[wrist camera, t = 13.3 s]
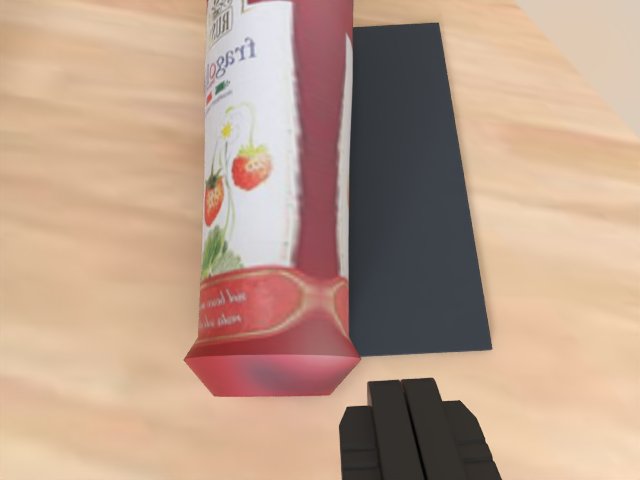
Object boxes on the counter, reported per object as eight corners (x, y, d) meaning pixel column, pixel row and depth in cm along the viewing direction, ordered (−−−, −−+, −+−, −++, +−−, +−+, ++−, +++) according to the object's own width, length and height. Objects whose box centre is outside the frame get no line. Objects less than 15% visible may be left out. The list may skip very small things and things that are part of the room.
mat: (490, 349, 22) (492, 349, 22) (233, 363, 22) (232, 362, 22) (437, 25, 28) (438, 22, 28) (237, 37, 28) (236, 33, 28)
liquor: (409, 394, 18) (376, -138, 26) (233, 397, 13) (262, -241, 22) (296, 394, 23) (298, -46, 32) (146, 396, 19) (195, -114, 27)
